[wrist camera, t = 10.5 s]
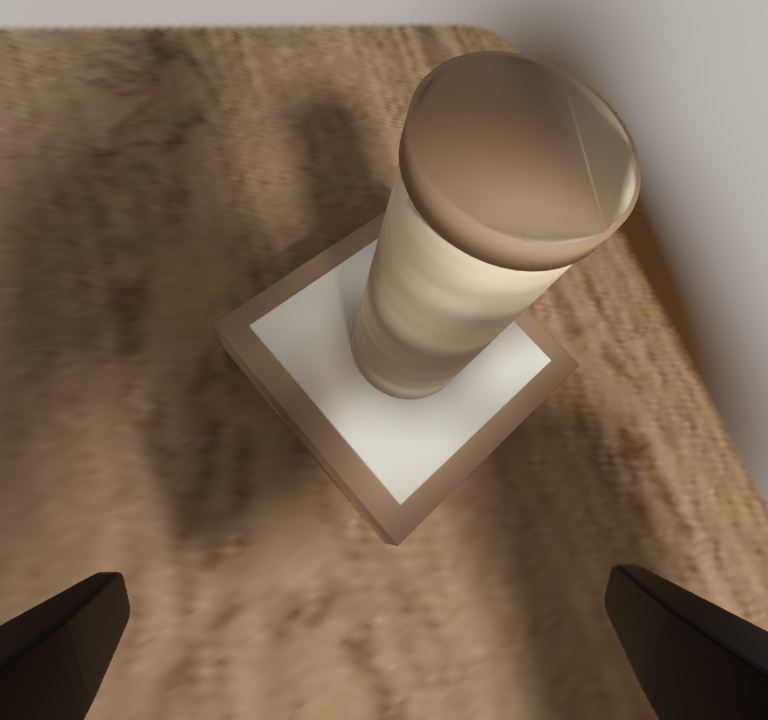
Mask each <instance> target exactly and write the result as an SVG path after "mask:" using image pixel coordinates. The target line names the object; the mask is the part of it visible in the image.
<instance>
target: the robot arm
mask: <svg viewBox="0 0 768 720" xmlns="http://www.w3.org/2000/svg"><path fill="white" fill-rule="evenodd" d="M605 608H606V611H607V614H608V616H609V619H610V621H611V623H612V625H613V627H614V630H615V632H616V634H617V636H618V638H619V640H620V643H621V645H622V647H623V649H624V651H625V654H626V656H627V658H628V660H629V662H630V665H631V667H632V669H633V671H634V673H635V675H636V678H637V680H638V682H639V684H640V686H641V688H642V690H643V692H644V693H645V695H646V697H647V699H648V701H649V702H650V704H651V706H652V708H653V709H654V711H655V713H656V715H657V716H658V718H659V720H768V631H766V630H764V629H762V628H760V627H758V626H756V625H754V624H752V623H750V622H748V621H746V620H744V619H742V618H740V617H738V616H736V615H734V614H732V613H730V612H728V611H726V610H725V609H723V608H721V607H719V606H717V605H715V604H713V603H711V602H709V601H707V600H705V599H703V598H701V597H699V596H697V595H695V594H693V593H691V592H689V591H687V590H685V589H683V588H682V587H680V586H678V585H676V584H674V583H672V582H670V581H668V580H666V579H664V578H662V577H660V576H658V575H656V574H654V573H652V572H650V571H648V570H646V569H644V568H642V567H640V566H639V565H636V564H616V565H614V566H613V567H612V569H611V572H610V576H609V580H608V584H607V589H606V593H605ZM129 614H130V604H129V599H128V595H127V590H126V586H125V581H124V578H123V575H122V574H121V573H119V572H99V573H96V574H94V575H92V576H90V577H88V578H86V579H85V580H83V581H81V582H79V583H77V584H75V585H74V586H72V587H70V588H68V589H66V590H64V591H63V592H61V593H59V594H57V595H55V596H53V597H52V598H50V599H48V600H46V601H44V602H43V603H41V604H39V605H37V606H35V607H33V608H32V609H30V610H28V611H26V612H24V613H22V614H21V615H19V616H17V617H15V618H13V619H11V620H10V621H8V622H6V623H4V624H2V625H0V720H84V718H85V716H86V715H87V713H88V711H89V709H90V707H91V705H92V703H93V701H94V698H95V696H96V694H97V692H98V690H99V687H100V685H101V683H102V681H103V678H104V676H105V674H106V671H107V669H108V667H109V664H110V662H111V660H112V657H113V655H114V653H115V650H116V648H117V646H118V644H119V641H120V639H121V637H122V634H123V632H124V630H125V627H126V625H127V622H128V619H129Z"/></svg>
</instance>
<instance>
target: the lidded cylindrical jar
mask: <svg viewBox="0 0 768 720" xmlns="http://www.w3.org/2000/svg"><path fill="white" fill-rule="evenodd" d="M640 178H641V172H640V162H639V158H638V154H637V150H636V147H635V145H634V142H633V140H632V137H631V135H630V133H629V131H628V129H627V128H626V126H625V124H624V123H623V121H622V120H621V118H620V117H619V115H618V114H617V113H616V112H615V110H614V109H613V108H612V107H611V106H610V104H609V103H608V102H607V101H606V100H605V99H604V98H603V97H602V96H601V95H600V94H599V93H598V92H596V91H595V90H594V89H593V88H591V87H590V86H589V85H588V84H587V83H585V82H583V81H582V80H581V79H579V78H578V77H576V76H574V75H573V74H571V73H569V72H568V71H566V70H564V69H562V68H560V67H558V66H556V65H554V64H551V63H549V62H547V61H544V60H541V59H538V58H535V57H531V56H527V55H523V54H518V53H512V52H503V51H483V52H475V53H469V54H465V55H461V56H458V57H455V58H453V59H450V60H448V61H446V62H444V63H442V64H441V65H439V66H438V67H436V68H435V69H433V70H432V71H431V72H430V73H429V74H428V75H427V76H426V77H425V78H424V79H423V80H422V81H421V83H420V84H419V85H418V87H417V89H416V91H415V93H414V94H413V96H412V99H411V103H410V106H409V109H408V113H407V117H406V121H405V124H404V128H403V132H402V136H401V140H400V147H399V165H398V169H397V173H396V176H395V180H394V183H393V187H392V191H391V194H390V198H389V202H388V205H387V209H386V212H385V216H384V220H383V223H382V227H381V231H380V234H379V238H378V241H377V245H376V249H375V252H374V256H373V260H372V263H371V267H370V270H369V274H368V278H367V281H366V285H365V289H364V292H363V296H362V299H361V303H360V307H359V310H358V314H357V318H356V321H355V325H354V328H353V332H352V338H351V348H352V354H353V358H354V361H355V363H356V366H357V368H358V369H359V371H360V373H361V374H362V375H363V377H364V378H365V379H366V380H367V381H368V382H369V383H370V384H371V385H372V386H373V387H375V388H376V389H377V390H379V391H381V392H383V393H385V394H387V395H389V396H392V397H395V398H400V399H421V398H425V397H428V396H431V395H433V394H435V393H437V392H439V391H440V390H441V389H443V388H444V387H445V386H446V385H447V384H448V383H449V382H450V381H451V380H452V379H454V378H455V377H456V376H457V375H458V374H459V373H460V372H461V371H462V370H463V369H464V368H465V367H466V366H467V365H468V364H469V363H470V362H471V361H472V360H473V359H474V358H475V357H476V356H477V355H479V354H480V353H481V352H482V351H483V350H484V349H485V348H486V347H487V346H488V345H489V344H490V343H491V342H492V341H493V340H494V339H495V338H496V337H497V336H498V335H499V334H500V333H501V332H502V331H504V330H505V329H506V328H507V327H508V326H509V325H510V324H511V323H512V322H513V321H514V320H515V319H516V318H517V317H518V316H519V315H520V314H521V313H522V312H523V311H524V310H525V309H526V308H527V307H529V306H530V305H531V304H532V303H533V302H534V301H535V300H536V299H537V298H538V297H539V296H540V295H541V294H542V293H543V292H544V291H545V290H546V289H547V288H548V287H549V286H550V285H551V284H552V283H554V282H555V281H556V280H557V279H558V278H559V277H560V276H561V275H562V274H563V273H564V272H565V271H566V270H567V269H568V268H569V267H570V266H571V265H572V264H574V263H576V262H578V261H580V260H581V259H583V258H585V257H586V256H588V255H589V254H590V253H591V252H593V251H594V250H595V249H596V248H597V247H598V246H599V245H600V244H601V243H603V242H604V241H605V240H606V239H607V238H608V237H609V236H610V235H611V234H612V233H613V232H614V231H615V230H616V229H618V228H619V226H620V225H621V224H622V223H623V222H624V221H625V220H626V219H627V217H628V216H629V214H630V213H631V211H632V210H633V208H634V205H635V203H636V201H637V198H638V194H639V190H640V180H641V179H640Z"/></svg>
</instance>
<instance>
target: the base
mask: <svg viewBox="0 0 768 720" xmlns="http://www.w3.org/2000/svg"><path fill="white" fill-rule="evenodd" d="M385 212H386V211H384V212H382V213H381V214H379V215H378V216H376V217H375V218H373V219H372V220H370V221H369V222H367V223H366V224H364V225H363V226H361V227H360V228H358V229H356V230H355V231H353V232H352V233H350V234H349V235H347V236H346V237H344V238H343V239H341V240H340V241H338V242H337V243H335V244H334V245H332V246H331V247H329V248H327V249H326V250H324V251H323V252H321V253H320V254H318V255H317V256H315V257H314V258H312V259H311V260H309V261H308V262H306V263H305V264H303V265H301V266H300V267H298V268H297V269H295V270H294V271H292V272H291V273H289V274H288V275H286V276H285V277H283V278H282V279H280V280H279V281H277V282H276V283H274V284H272V285H271V286H269V287H268V288H266V289H265V290H263V291H262V292H260V293H259V294H257V295H256V296H254V297H253V298H251V299H250V300H248V301H246V302H245V303H243V304H242V305H240V306H239V307H237V308H236V309H234V310H233V311H231V312H230V313H228V314H227V315H225V316H224V317H222V318H221V319H219V320H217V321H216V322H214V323H213V325H214V327H215V329H216V332H217V334H218V336H219V339H220V341H221V343H222V346H223V348H224V350H225V351H226V353H227V354H228V355H229V356H230V357H231V359H232V360H233V361H234V362H235V363H236V365H237V366H238V367H239V368H240V369H241V371H242V372H243V373H244V374H245V376H246V377H247V378H248V379H249V380H250V382H251V383H252V384H253V385H254V386H255V388H256V389H257V390H258V391H259V392H260V394H261V395H262V396H263V397H264V398H265V400H266V401H267V402H268V403H269V405H270V406H271V407H272V408H273V409H274V411H275V412H276V413H277V414H278V415H279V417H280V418H281V419H282V420H283V421H284V423H285V424H286V425H287V426H288V427H289V429H290V430H291V431H292V432H293V434H294V435H295V436H296V437H297V438H298V440H299V441H300V442H301V443H302V444H303V446H304V447H305V448H306V449H307V450H308V452H309V453H310V454H311V455H312V457H313V458H314V459H315V460H316V461H317V463H318V464H319V465H320V466H321V467H322V469H323V470H324V471H325V472H326V473H327V475H328V476H329V477H330V478H331V479H332V481H333V482H334V483H335V484H336V486H337V487H338V488H339V489H340V490H341V492H342V493H343V494H344V495H345V496H346V498H347V499H348V500H349V501H350V502H351V504H352V505H353V506H354V507H355V508H356V510H357V511H358V512H359V513H360V515H361V516H362V517H363V518H364V519H365V521H366V522H367V523H368V524H369V525H370V527H371V528H372V529H373V530H374V531H375V533H376V534H377V535H378V536H379V537H380V539H381V540H382V541H383V542H384V543H387V544H392V545H396V546H398V545H399V544H400V543H401V542H402V541H403V540H404V539H405V538H406V537H407V536H408V535H409V534H410V533H411V532H412V531H413V530H414V529H415V528H416V527H417V526H418V525H419V524H420V523H421V522H422V521H423V520H424V519H425V518H426V517H427V516H428V515H429V514H430V513H431V512H432V511H433V510H434V509H435V508H436V507H437V506H438V505H439V504H440V503H441V502H442V501H443V500H444V499H445V498H446V497H447V496H448V495H449V494H450V493H451V492H452V491H453V490H454V489H455V488H456V487H457V486H458V485H459V484H460V483H461V482H462V481H463V480H464V479H465V478H466V477H467V476H468V475H469V474H470V473H471V472H472V471H473V470H474V469H475V468H477V467H478V466H479V465H480V464H481V463H482V462H483V461H484V460H485V459H486V458H487V457H488V456H489V455H490V454H491V453H492V452H493V451H494V450H495V449H496V448H497V447H498V446H499V445H500V444H501V443H502V442H503V441H504V440H505V439H506V438H507V437H508V436H509V435H510V434H511V433H512V432H513V431H514V430H515V429H516V428H517V427H518V426H519V425H520V424H521V423H522V422H523V421H524V420H525V419H526V418H527V417H528V416H529V415H530V414H531V413H532V412H533V411H534V410H535V409H536V408H537V407H538V406H539V405H540V404H541V403H542V402H543V401H544V400H545V399H546V398H547V397H548V396H549V395H550V394H551V393H552V392H553V391H554V390H555V389H556V388H557V387H558V386H559V385H560V384H561V383H562V382H563V381H564V380H565V379H566V378H567V377H568V376H569V375H570V374H571V373H572V372H573V371H574V370H575V369H576V368H577V367H578V366H579V365H578V364H577V363H576V362H575V361H574V360H573V359H572V358H571V357H570V356H569V354H568V353H567V352H566V351H565V350H564V349H563V348H562V347H561V346H560V345H559V344H558V343H557V342H556V341H555V340H554V339H553V338H552V337H551V336H550V335H549V334H548V333H547V332H546V331H545V330H544V329H543V328H542V327H541V325H540V324H539V323H538V322H537V321H536V320H535V319H534V318H533V317H532V316H531V315H530V314H529V313H528V312H527V311H526V310H524V311H523V312H522V313H521V314H520V315H519V316H518V317H517V318H516V319H515V320H514V321H513V322H512V323H511V324H510V325H509V326H508V327H507V328H506V329H505V330H504V331H502V332H501V333H500V334H499V335H498V336H497V337H496V338H495V339H494V340H493V341H492V342H491V343H490V344H489V345H488V346H487V347H486V348H485V349H484V350H483V351H482V352H481V353H480V354H479V355H477V356H476V357H475V358H474V359H473V360H472V361H471V362H470V363H469V364H468V365H467V366H466V367H465V368H464V369H463V370H462V371H461V372H460V373H459V374H458V375H457V376H456V377H455V378H454V379H452V380H451V381H450V382H449V383H448V384H447V385H446V386H445V387H444V388H443V389H441V390H440V391H439V392H437V393H435V394H433V395H431V396H428V397H425V398H421V399H400V398H395V397H392V396H389V395H387V394H385V393H383V392H381V391H379V390H377V389H376V388H375V387H373V386H372V385H371V384H370V383H369V382H368V381H367V380H366V379H365V378H364V377H363V375H362V374H361V373H360V371H359V369H358V368H357V366H356V363H355V361H354V358H353V354H352V348H351V338H352V332H353V328H354V325H355V321H356V318H357V314H358V310H359V307H360V303H361V299H362V296H363V292H364V289H365V285H366V281H367V278H368V274H369V270H370V267H371V263H372V260H373V256H374V252H375V249H376V245H377V241H378V238H379V234H380V231H381V227H382V223H383V220H384V216H385Z"/></svg>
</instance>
